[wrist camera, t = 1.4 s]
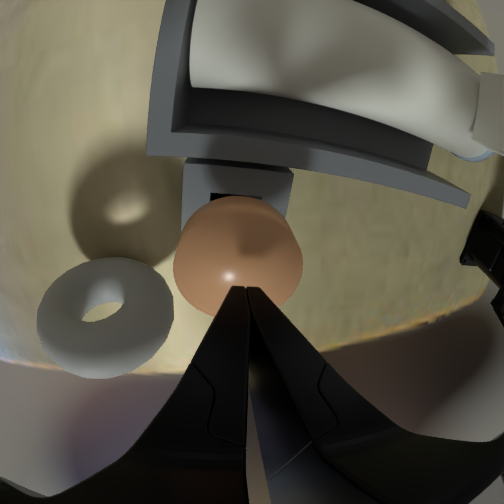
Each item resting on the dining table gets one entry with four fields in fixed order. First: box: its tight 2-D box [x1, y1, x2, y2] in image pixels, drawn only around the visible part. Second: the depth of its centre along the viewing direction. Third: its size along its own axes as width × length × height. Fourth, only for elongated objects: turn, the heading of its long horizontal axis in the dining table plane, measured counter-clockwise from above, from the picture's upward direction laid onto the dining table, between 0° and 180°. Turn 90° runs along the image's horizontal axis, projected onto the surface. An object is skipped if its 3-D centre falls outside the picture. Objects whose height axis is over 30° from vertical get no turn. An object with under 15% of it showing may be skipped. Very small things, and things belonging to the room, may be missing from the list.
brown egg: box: [173, 195, 303, 317], centre depth 11 cm, size 4×4×6 cm
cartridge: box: [190, 0, 504, 162], centre depth 9 cm, size 17×6×9 cm, turn 82°
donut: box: [37, 257, 174, 378], centre depth 15 cm, size 10×4×10 cm, turn 87°
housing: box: [146, 0, 494, 232], centre depth 12 cm, size 18×18×6 cm
